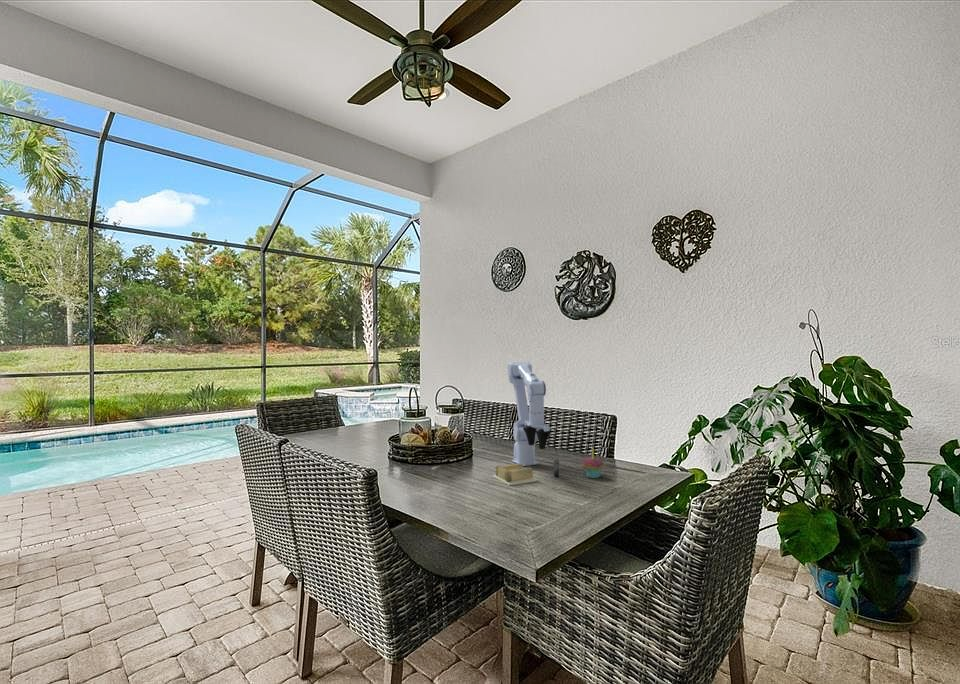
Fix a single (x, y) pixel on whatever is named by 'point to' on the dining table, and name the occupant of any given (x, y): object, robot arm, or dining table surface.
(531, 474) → the c link
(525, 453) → the robot arm
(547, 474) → the dining table surface
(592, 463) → the cupcake
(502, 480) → the coaster
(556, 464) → the post
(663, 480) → the dining table surface
